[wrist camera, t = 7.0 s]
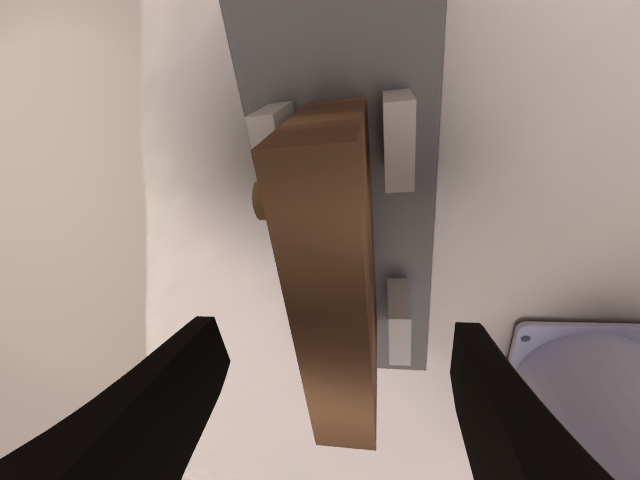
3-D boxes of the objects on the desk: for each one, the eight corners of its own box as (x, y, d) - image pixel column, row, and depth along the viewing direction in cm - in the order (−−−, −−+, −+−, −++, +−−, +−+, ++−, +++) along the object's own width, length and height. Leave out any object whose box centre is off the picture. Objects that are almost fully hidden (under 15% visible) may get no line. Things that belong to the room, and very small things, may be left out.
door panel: (377, 322, 19) (376, 450, 13) (322, 321, 20) (297, 442, 14) (367, 96, 13) (356, 141, 7) (288, 104, 14) (218, 152, 8)
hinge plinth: (423, 351, 22) (432, 417, 18) (303, 346, 23) (288, 406, 19) (442, -44, 12) (472, -86, 8) (232, -6, 13) (172, -26, 9)
